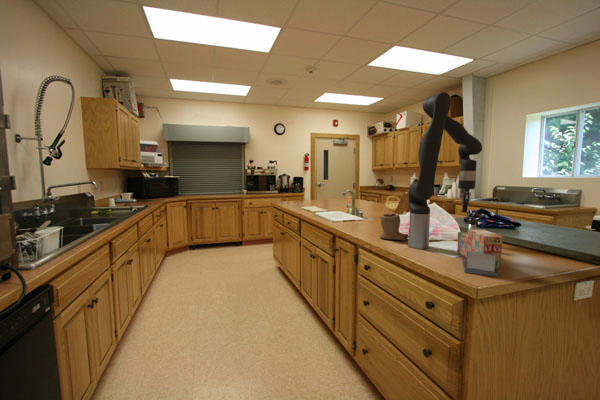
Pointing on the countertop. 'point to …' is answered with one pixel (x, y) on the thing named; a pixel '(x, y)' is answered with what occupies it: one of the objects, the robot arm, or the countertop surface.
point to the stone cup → (391, 227)
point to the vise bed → (464, 260)
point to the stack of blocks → (480, 243)
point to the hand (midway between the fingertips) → (464, 212)
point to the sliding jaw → (472, 223)
